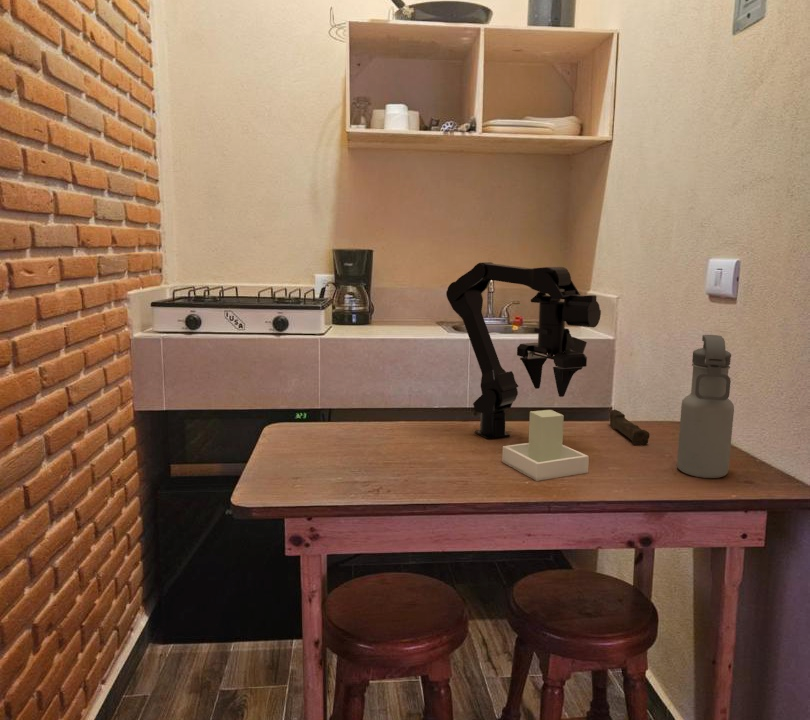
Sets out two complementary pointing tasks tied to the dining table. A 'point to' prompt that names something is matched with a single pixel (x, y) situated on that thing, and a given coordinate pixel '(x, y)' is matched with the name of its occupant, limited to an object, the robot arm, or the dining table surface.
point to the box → (545, 462)
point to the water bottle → (707, 413)
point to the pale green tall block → (545, 435)
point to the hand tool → (628, 428)
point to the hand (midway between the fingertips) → (549, 392)
